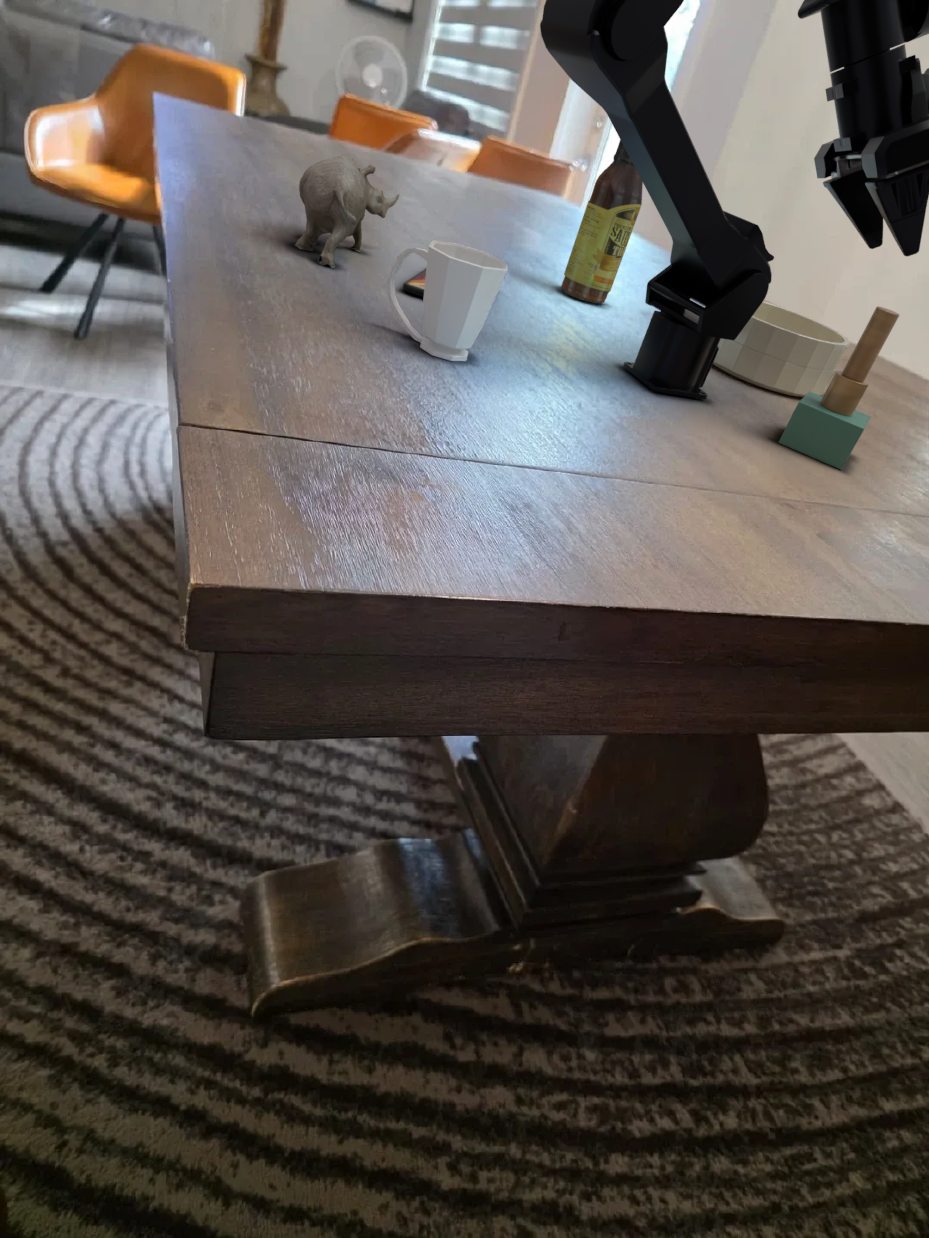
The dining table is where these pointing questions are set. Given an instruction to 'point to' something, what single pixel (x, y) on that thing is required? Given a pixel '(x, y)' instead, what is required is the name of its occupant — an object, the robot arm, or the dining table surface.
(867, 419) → the stand
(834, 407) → the wooden peg
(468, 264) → the cup
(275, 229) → the dining table surface
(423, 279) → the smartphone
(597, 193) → the sauce bottle
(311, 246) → the rhinoceros figurine
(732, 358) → the bowl
